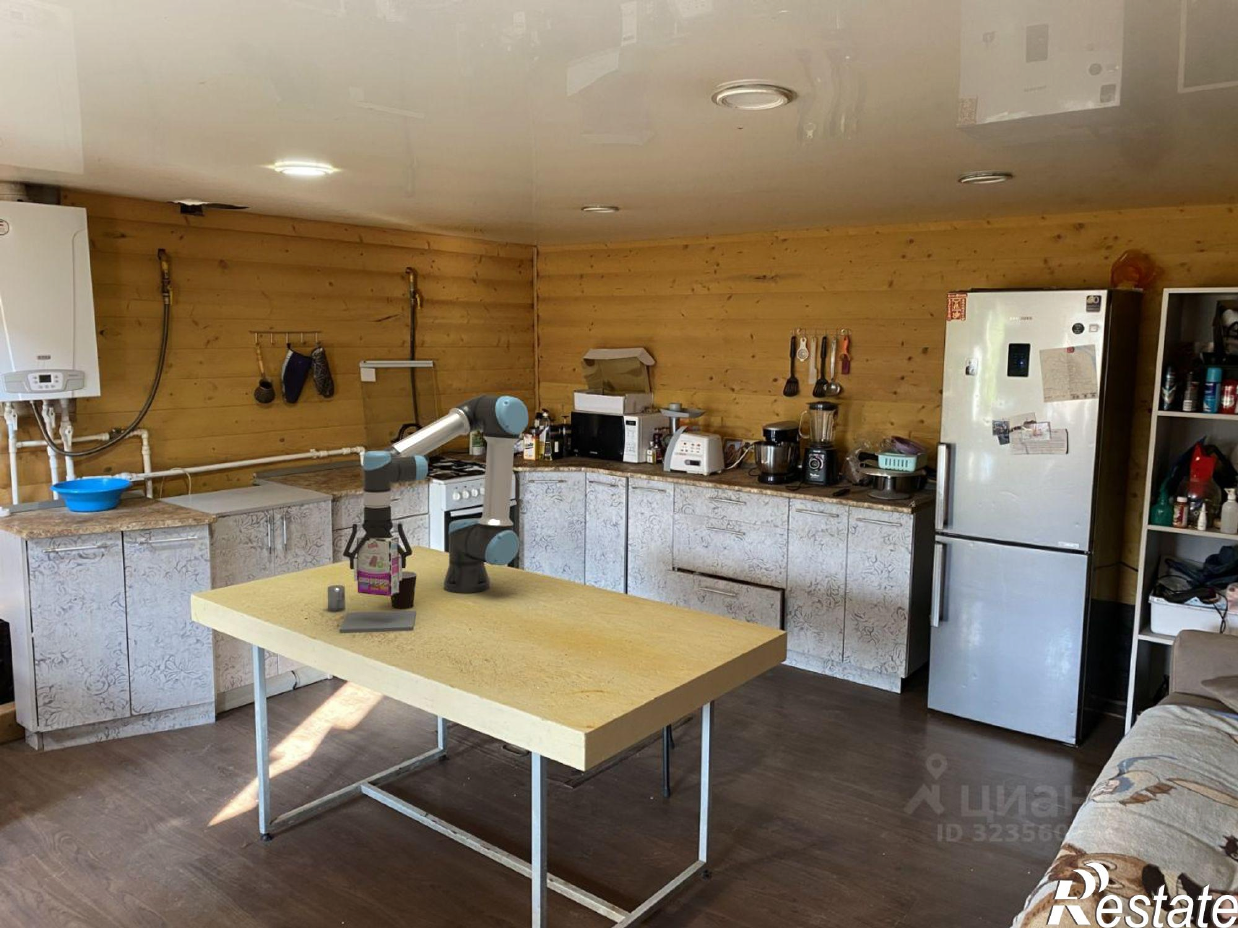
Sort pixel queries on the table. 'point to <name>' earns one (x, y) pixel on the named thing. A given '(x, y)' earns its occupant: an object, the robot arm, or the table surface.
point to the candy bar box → (378, 566)
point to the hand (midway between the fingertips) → (378, 579)
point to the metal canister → (336, 598)
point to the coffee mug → (405, 591)
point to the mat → (378, 621)
